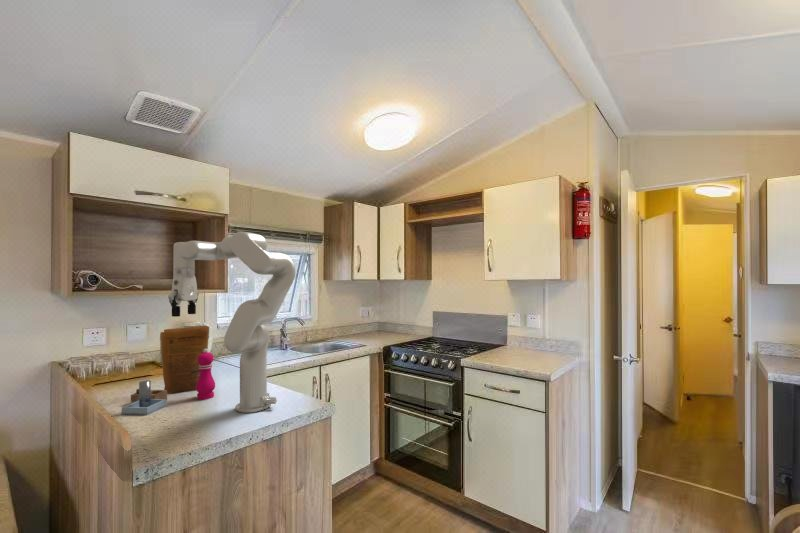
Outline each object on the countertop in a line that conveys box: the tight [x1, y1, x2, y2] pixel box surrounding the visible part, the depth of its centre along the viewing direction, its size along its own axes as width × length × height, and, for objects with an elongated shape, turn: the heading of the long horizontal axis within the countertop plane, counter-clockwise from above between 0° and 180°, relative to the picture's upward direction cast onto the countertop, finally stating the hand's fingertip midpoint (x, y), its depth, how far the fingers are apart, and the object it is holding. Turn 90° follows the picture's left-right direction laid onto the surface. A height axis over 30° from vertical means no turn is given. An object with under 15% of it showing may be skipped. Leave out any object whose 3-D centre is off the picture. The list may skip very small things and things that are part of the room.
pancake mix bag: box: [159, 325, 210, 394], centre depth 171 cm, size 7×19×28 cm, turn 120°
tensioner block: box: [130, 388, 168, 404], centre depth 155 cm, size 10×7×6 cm
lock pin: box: [138, 379, 152, 407], centre depth 146 cm, size 4×4×10 cm
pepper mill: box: [195, 349, 216, 400], centre depth 161 cm, size 7×7×20 cm
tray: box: [121, 398, 168, 416], centre depth 146 cm, size 10×10×2 cm
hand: (184, 315), depth 157 cm, fingers open, 9 cm apart
